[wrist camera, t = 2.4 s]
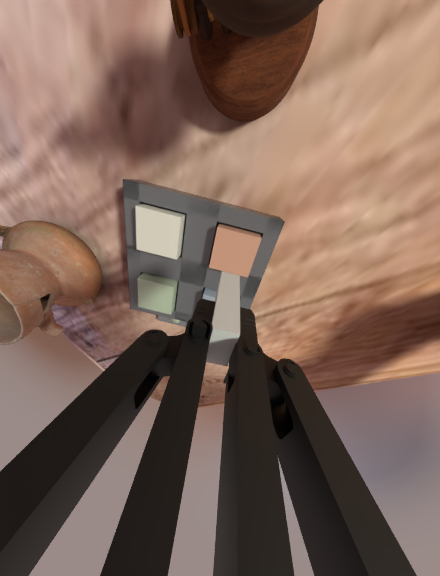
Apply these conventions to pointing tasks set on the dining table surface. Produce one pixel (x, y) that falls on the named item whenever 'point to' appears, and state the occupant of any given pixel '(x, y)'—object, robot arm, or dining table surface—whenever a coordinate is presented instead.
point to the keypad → (194, 245)
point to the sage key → (157, 293)
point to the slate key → (209, 294)
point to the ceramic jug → (42, 277)
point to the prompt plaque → (172, 321)
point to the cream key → (159, 231)
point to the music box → (246, 49)
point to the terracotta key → (234, 250)
